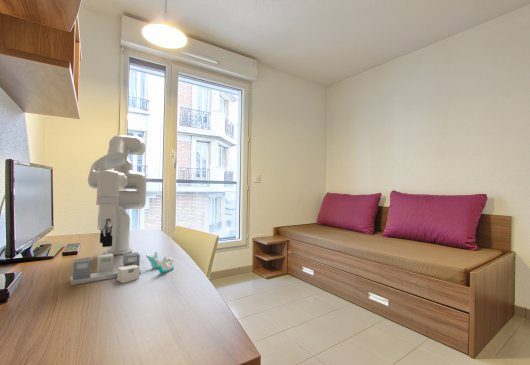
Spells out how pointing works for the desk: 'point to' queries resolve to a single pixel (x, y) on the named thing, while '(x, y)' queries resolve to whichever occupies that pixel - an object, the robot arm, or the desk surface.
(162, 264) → the jawbone
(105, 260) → the block
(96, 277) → the rail
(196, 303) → the desk surface
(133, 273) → the block
